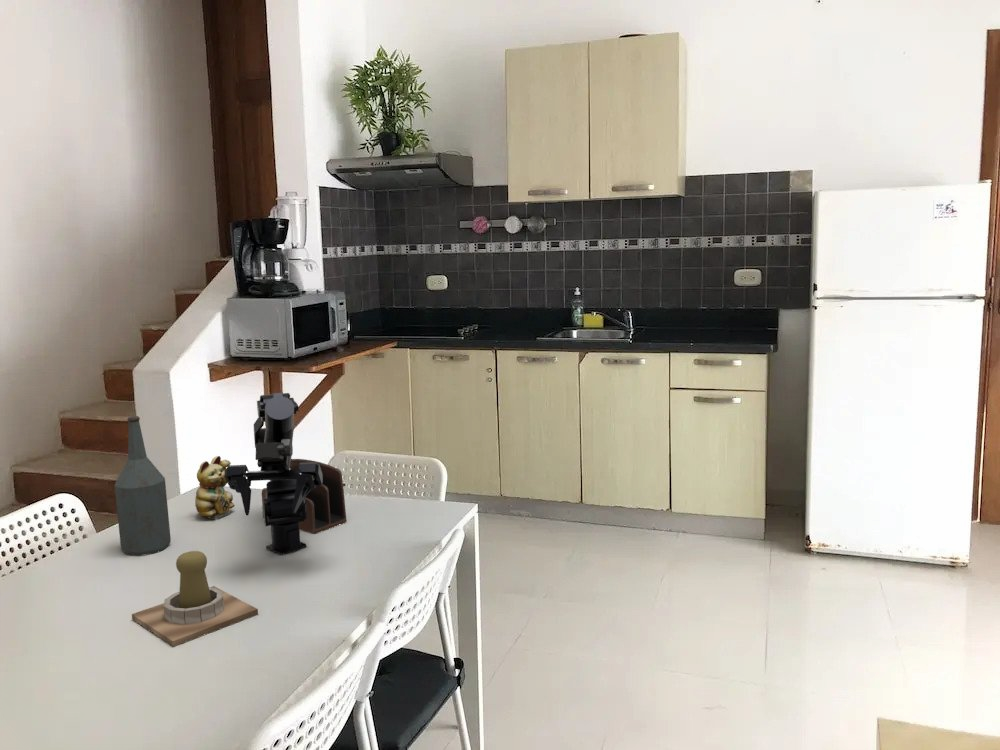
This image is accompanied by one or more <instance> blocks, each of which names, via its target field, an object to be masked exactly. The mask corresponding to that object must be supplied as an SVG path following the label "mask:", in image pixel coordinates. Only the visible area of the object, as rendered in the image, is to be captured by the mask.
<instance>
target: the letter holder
mask: <svg viewBox="0 0 1000 750" xmlns="http://www.w3.org/2000/svg"><path fill="white" fill-rule="evenodd" d="M302 462H317V463H318V464H319V465H320V468H321V471H322V475H323V480H322V485H321V486H316V488H315V489H314V490H310V492H309V493H308V494H307V495H306V497H305V498H304V499H305V500H306V501H307V510H306V511H307V519H305V521H303V522H302V521H300V522H299V531H304V532H307V533H309V534H313V535H316V534H319V533H321V531H322V532H323V531H324V532H325V531H326V530H329V528H330V529H333V528H335V527H334V526H336V527H337V525H338V526H340V525H339V524H341V525H343V523H344V524H346V523H347V521H348V520H347V512H346V511H347V510H346V501H345V491H344V481H343V473H342V471H341V469H339V468H336V467H335V466H332V465H329V464H326V463H325V462H321V461H317V460H311V459H304V458H291V461H290V470H292V469H299V464H300V463H302ZM295 480H296V479H295ZM266 489H267V487H264V488H262V490H261V501H262V502H261V503H262V507H261V509H262V510H263V499H266ZM267 517H268V516H267ZM262 518H263V519H264V512H263V511H262ZM345 522H346V523H345ZM332 527H333V528H332Z"/></svg>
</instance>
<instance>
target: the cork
mask: <svg viewBox="0 0 1000 750" xmlns="http://www.w3.org/2000/svg"><path fill="white" fill-rule="evenodd" d="M207 564H208V558H207V556H206V554H205V553H204V552H202V551H199V550H191V551H187V552H183V553H181V554H179V556H178V557H177V559H176V562H175V566H176V569H177V571H178V573H179V574H180V576H179V592H180V593H179V608H185V609H186V608H193V607H199V606H202V605H205V604H208V603H210V602H212V599H211V594H210V590H209V587H210V586H209V583H208V579H207V574H206V568H207Z"/></svg>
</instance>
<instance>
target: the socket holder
mask: <svg viewBox="0 0 1000 750" xmlns="http://www.w3.org/2000/svg"><path fill="white" fill-rule="evenodd" d="M209 590H210V594H211V599H212V602H210V603H208V604H205V605H202V606H199V607H193V608H186V609H185V608H179V593H180V591H177V592H175V593H172V594H171V595H170V596H168V597H167V598H165V599H164V601H163V603H161V604H158V605H154V606H152V607H148V608H146V609H142V610H140V611H137V612H134V613H131V620H132V619H133V622H135V621H136V622H135V623H137V624H138V623H139V625H140V626H141V625H142V628H144V627H145V628H144V629H146V628H147V629H148V630H147V629H146V630H147V631H149V630H150V631H151V633H152V632H153V633H154V634H153V633H152V634H153V635H155V636H156V635H157V636H156V637H158V638H159V637H160V639H161V640H162V639H163V640H162V641H164V642H165V641H166V643H167V644H168V645H169V646H171V647H177V646H179V645H181V644H184V643H186V642H190V641H192V640H194V639H197V638H200V637H202V636H205V635H207V633H208V634H211V633H213V632H216V631H218V630H221V629H223V628H226V627H228V626H231V625H235V624H236V623H239V622H241V621H245V620H247V619H249V618H251V617H255V616H258V615H259V609H258V608H257V607H256V606H255V607H254V606H253V605H251V604H250V603H249V604H248V603H247V602H245V601H244V600H241V599H239V598H237V597H235V596H233V594H230V593H228V592H227V591H224V590H222V589H220V588H219V587H216V586H215V585H212V586H209ZM220 628H221V629H220ZM215 630H216V631H215ZM150 631H149V632H150ZM210 632H211V633H210ZM204 634H205V635H204Z"/></svg>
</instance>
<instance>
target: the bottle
mask: <svg viewBox="0 0 1000 750" xmlns="http://www.w3.org/2000/svg"><path fill="white" fill-rule="evenodd" d="M140 419H141V418H140V416H138V415H133V416H129V417H127V419H126V420H127V421H128V439H127V441H128V446H127V447H128V448H127V449H128V451H127V453H128V457H127V460H126V462H125V465H124V466H123V468H122V471H121V472H120V474H119V476H118V478H117V479H116V481H115V484H114V493H115V504H116V513H117V515H116V516H117V524H118V531H119V541H120V549H121V550H122V552H124V553H125V554H127V555H128V554H129V555H128V556H145V554H146V555H151V554H155V553H159V552H161V550H162V551H163V550H165V549H166V548H168V547H169V546H170V544H171V539H172V538H171V537H172V536H171V528H170V527H171V526H170V517H169V516H170V515H169V508H168V505H169V504H168V498H167V497H168V496H167V488H166V487H167V485H166V478H165V476H164V475H163V474H162V473H161V472H160V470H159V469H158V468H157V467H156V465H154V463H153V462H152V461H151V460H150V458H148V455H147V451H146V447H145V443H144V442H145V441H144V438H143V433H142V429H141V425H140V424H141V423H140ZM158 551H159V552H158ZM150 553H151V554H150Z"/></svg>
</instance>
